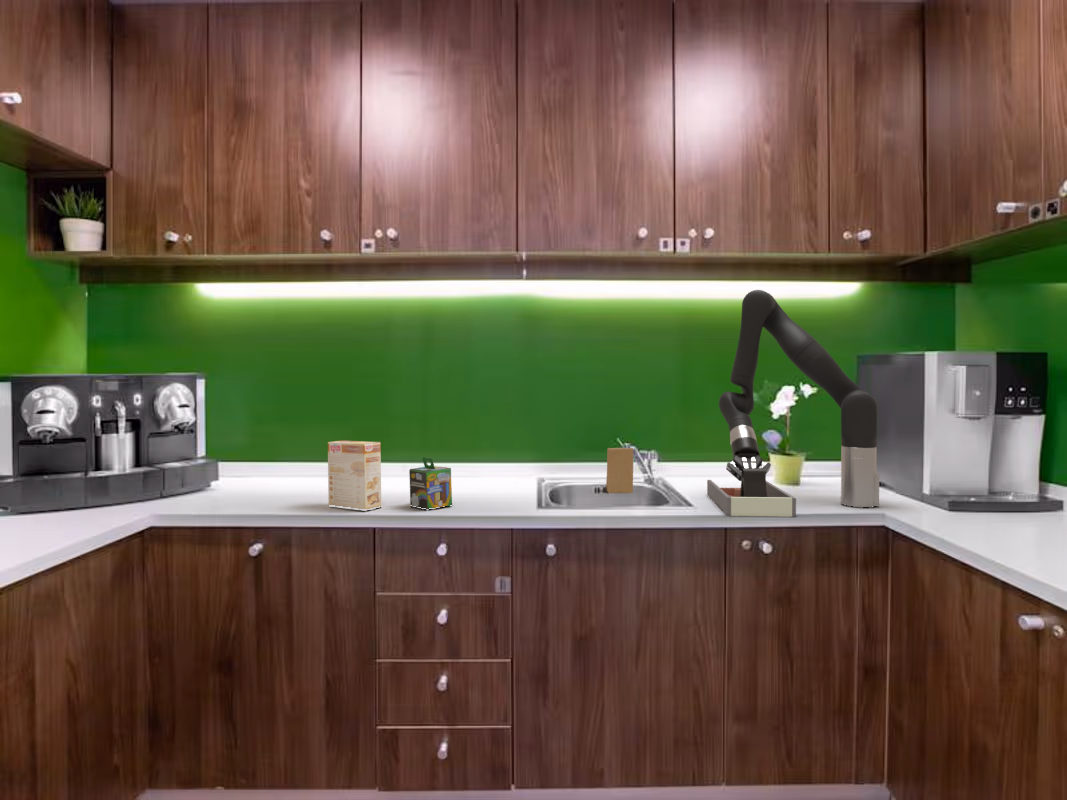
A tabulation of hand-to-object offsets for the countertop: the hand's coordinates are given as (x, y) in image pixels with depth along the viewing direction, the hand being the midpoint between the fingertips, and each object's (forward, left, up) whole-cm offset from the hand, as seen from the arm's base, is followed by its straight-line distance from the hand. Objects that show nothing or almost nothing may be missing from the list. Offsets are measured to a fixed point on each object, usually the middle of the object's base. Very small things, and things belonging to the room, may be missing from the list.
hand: (753, 491), depth 182 cm
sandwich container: (+36, -34, -6) cm, 50 cm away
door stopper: (0, +1, -6) cm, 6 cm away
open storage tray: (0, -8, -5) cm, 9 cm away
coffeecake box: (+115, +4, -6) cm, 115 cm away
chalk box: (+93, +1, -6) cm, 93 cm away
